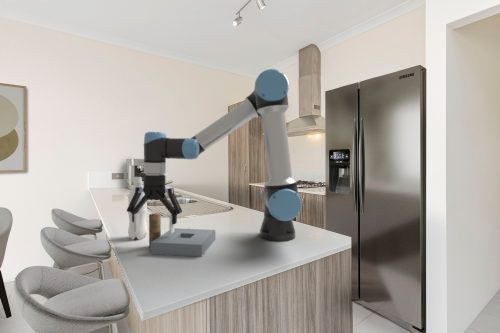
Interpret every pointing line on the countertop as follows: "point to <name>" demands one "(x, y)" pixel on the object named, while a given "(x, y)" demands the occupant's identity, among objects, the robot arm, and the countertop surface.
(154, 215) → the peg
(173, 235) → the socket board
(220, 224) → the countertop surface
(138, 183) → the water bottle
